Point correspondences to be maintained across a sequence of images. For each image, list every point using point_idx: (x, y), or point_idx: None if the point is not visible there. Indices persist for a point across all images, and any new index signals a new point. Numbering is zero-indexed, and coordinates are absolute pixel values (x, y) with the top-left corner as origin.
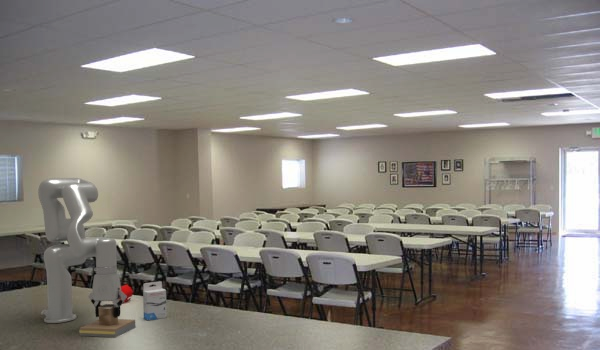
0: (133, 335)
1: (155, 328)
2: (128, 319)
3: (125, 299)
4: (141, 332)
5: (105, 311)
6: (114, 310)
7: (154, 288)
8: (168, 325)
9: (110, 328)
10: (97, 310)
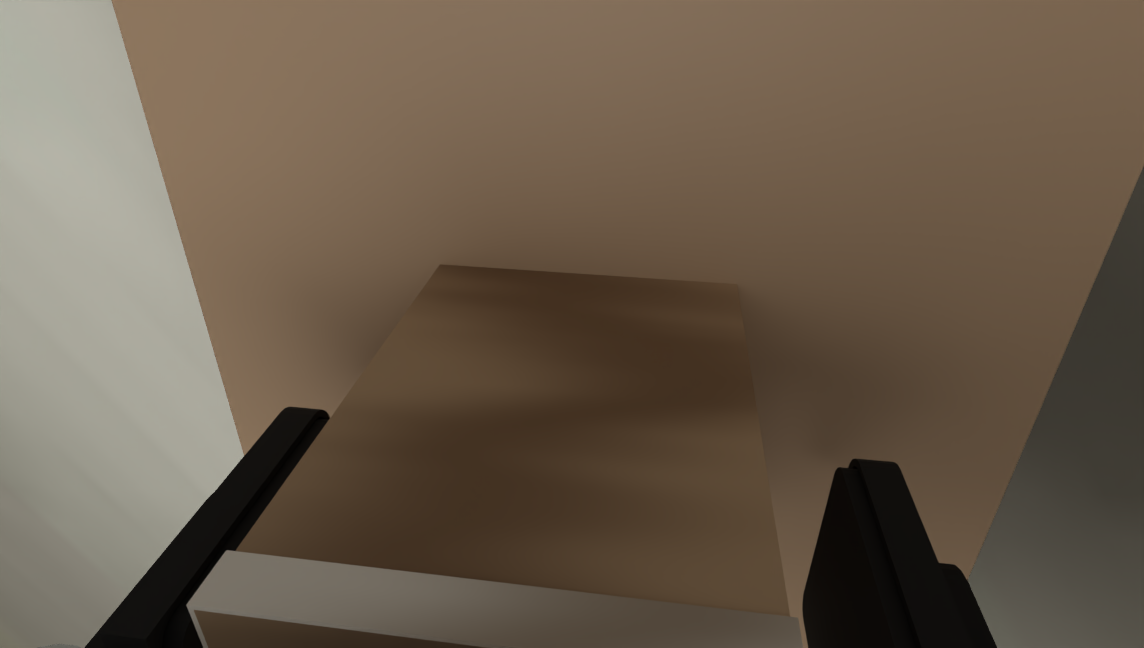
0: (22, 129)
1: (49, 473)
2: None
3: None
4: (54, 298)
5: (484, 497)
6: (194, 545)
7: None
8: (19, 574)
9: (265, 22)
10: (887, 619)
